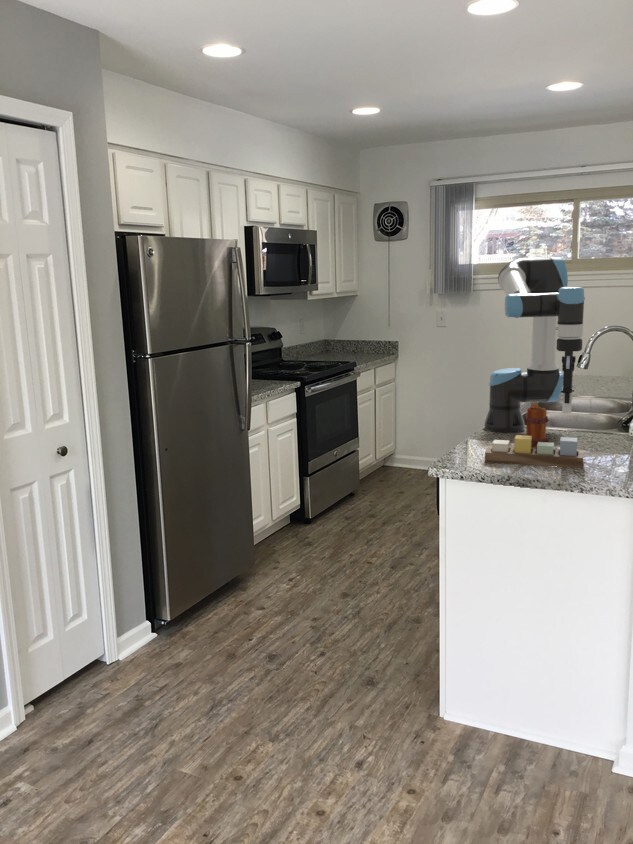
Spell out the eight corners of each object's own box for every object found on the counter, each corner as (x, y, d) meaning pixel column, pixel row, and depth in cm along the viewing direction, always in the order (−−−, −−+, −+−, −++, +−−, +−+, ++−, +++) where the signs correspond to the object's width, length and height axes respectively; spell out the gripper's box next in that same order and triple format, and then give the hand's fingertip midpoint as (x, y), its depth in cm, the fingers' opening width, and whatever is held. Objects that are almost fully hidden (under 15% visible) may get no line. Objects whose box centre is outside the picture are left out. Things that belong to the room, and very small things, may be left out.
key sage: (537, 456, 236) (538, 441, 235) (553, 457, 235) (554, 442, 233) (536, 460, 232) (537, 445, 231) (552, 461, 230) (553, 446, 229)
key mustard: (515, 449, 238) (516, 435, 237) (531, 450, 237) (531, 435, 235) (514, 453, 234) (514, 438, 233) (530, 454, 232) (530, 439, 231)
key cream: (493, 454, 241) (494, 439, 240) (509, 455, 239) (509, 440, 238) (492, 458, 237) (492, 443, 235) (507, 459, 235) (508, 444, 234)
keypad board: (488, 455, 244) (488, 445, 244) (582, 460, 234) (583, 449, 233) (484, 462, 235) (485, 452, 234) (582, 468, 225) (583, 457, 224)
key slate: (560, 452, 233) (560, 437, 232) (576, 453, 232) (577, 437, 231) (559, 456, 229) (560, 440, 228) (576, 457, 227) (577, 441, 226)
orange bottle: (549, 452, 245) (550, 408, 242) (524, 451, 247) (525, 408, 244) (544, 441, 259) (546, 400, 256) (521, 441, 261) (522, 400, 258)
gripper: (557, 335, 230) (555, 408, 235) (555, 340, 218) (552, 416, 223) (583, 335, 227) (579, 409, 232) (581, 340, 215) (578, 417, 220)
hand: (566, 412), depth 227 cm, fingers closed
